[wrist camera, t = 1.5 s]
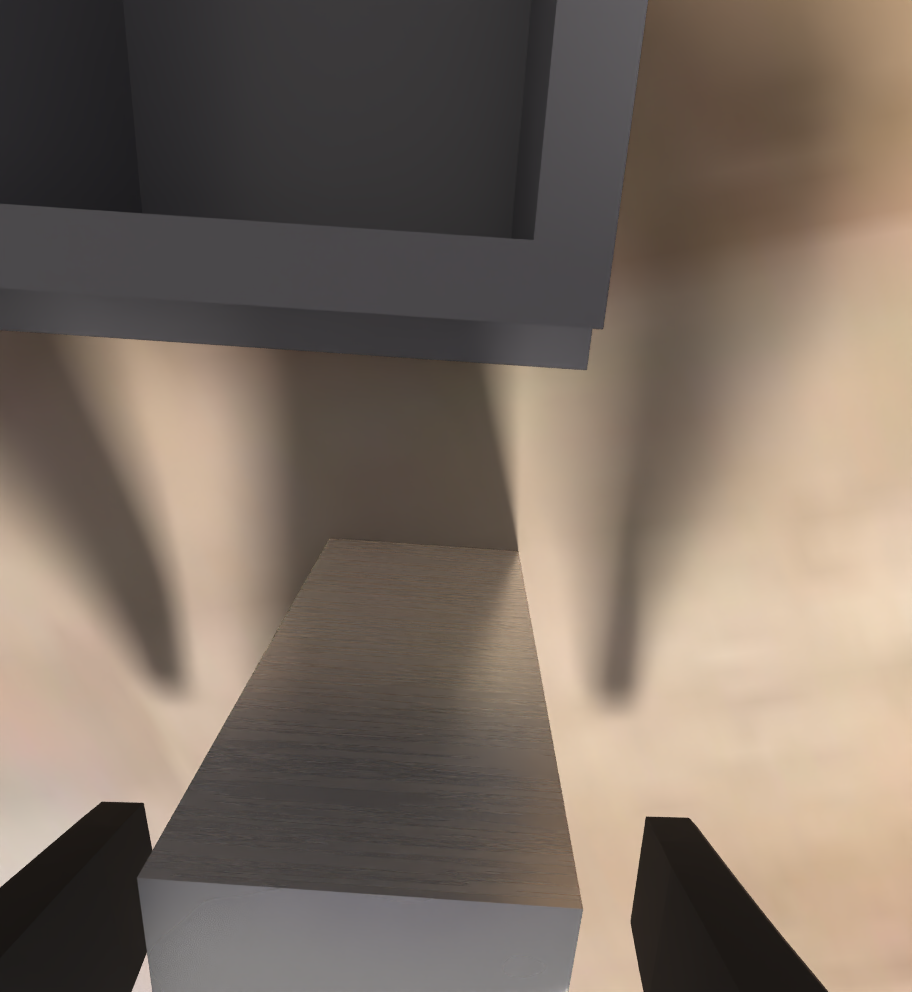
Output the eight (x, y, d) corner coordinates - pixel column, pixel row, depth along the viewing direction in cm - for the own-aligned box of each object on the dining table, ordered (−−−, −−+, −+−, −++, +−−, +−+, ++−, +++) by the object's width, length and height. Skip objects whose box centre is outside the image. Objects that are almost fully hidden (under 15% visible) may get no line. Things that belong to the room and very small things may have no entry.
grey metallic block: (518, 549, 10) (582, 909, 4) (479, 913, 12) (486, 1445, 7) (329, 536, 10) (137, 877, 4) (330, 904, 12) (211, 1427, 7)
